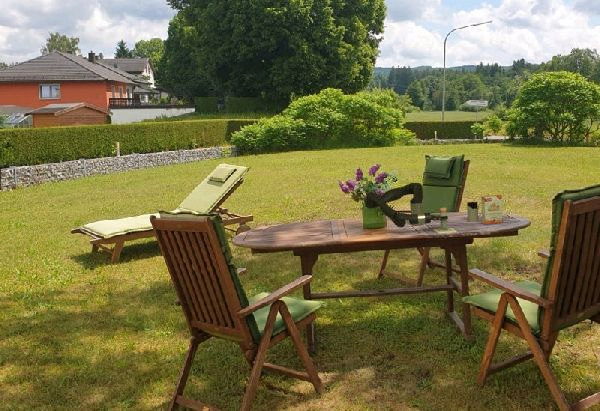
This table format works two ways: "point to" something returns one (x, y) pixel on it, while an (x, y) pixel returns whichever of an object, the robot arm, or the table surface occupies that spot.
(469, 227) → the table surface
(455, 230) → the paper sheet
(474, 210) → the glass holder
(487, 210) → the cracker box
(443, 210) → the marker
